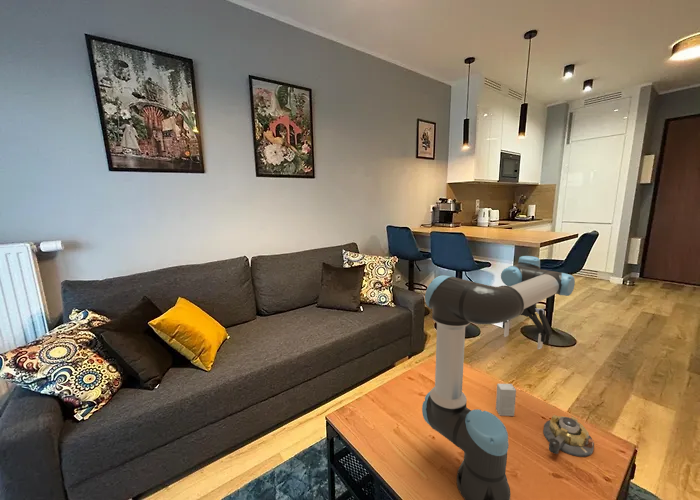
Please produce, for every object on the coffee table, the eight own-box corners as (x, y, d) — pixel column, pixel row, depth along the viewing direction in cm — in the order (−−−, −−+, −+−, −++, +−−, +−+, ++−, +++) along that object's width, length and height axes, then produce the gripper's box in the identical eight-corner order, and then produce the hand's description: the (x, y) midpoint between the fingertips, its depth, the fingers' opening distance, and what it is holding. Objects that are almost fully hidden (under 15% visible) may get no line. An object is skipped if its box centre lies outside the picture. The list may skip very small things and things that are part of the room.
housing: (584, 464, 101) (587, 444, 99) (536, 436, 113) (537, 418, 111) (599, 442, 109) (602, 424, 108) (553, 418, 121) (555, 401, 120)
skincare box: (510, 409, 127) (512, 383, 125) (514, 416, 123) (516, 390, 121) (495, 408, 128) (496, 383, 125) (498, 415, 123) (500, 389, 121)
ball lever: (570, 464, 98) (571, 453, 98) (534, 442, 107) (535, 432, 106) (591, 436, 109) (592, 426, 108) (557, 418, 118) (558, 409, 117)
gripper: (565, 299, 115) (559, 351, 119) (501, 285, 135) (498, 329, 139) (557, 304, 111) (551, 357, 115) (492, 288, 131) (489, 333, 135)
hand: (522, 341), depth 127 cm, fingers open, 13 cm apart
